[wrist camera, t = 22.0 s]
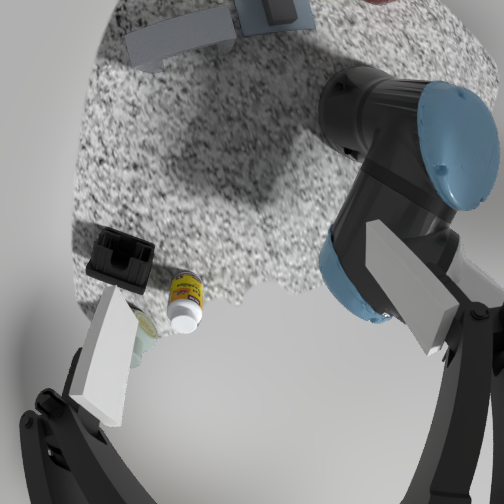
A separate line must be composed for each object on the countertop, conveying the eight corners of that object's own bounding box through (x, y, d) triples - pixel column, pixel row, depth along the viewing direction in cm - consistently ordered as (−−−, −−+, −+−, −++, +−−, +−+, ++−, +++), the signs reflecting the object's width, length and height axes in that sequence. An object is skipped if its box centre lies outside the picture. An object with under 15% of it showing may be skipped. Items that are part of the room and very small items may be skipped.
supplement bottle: (206, 275, 49) (207, 317, 40) (197, 298, 51) (196, 340, 43) (175, 266, 47) (169, 307, 38) (167, 290, 50) (161, 332, 41)
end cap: (95, 258, 44) (83, 282, 39) (103, 224, 41) (89, 246, 36) (147, 277, 48) (140, 303, 42) (158, 245, 45) (152, 269, 39)
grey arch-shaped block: (223, 27, 29) (227, 4, 19) (230, 52, 31) (236, 37, 21) (147, 49, 29) (124, 35, 19) (153, 74, 31) (132, 68, 22)
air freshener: (102, 310, 50) (89, 348, 42) (130, 295, 49) (119, 334, 41) (136, 342, 56) (129, 380, 48) (165, 330, 55) (161, 370, 46)
